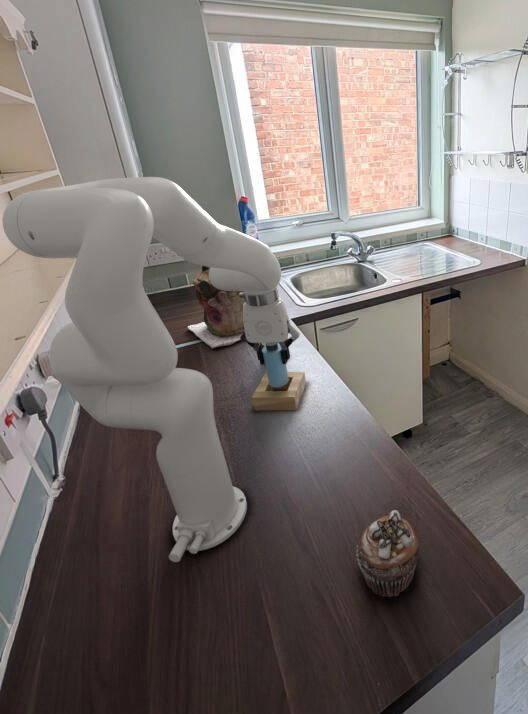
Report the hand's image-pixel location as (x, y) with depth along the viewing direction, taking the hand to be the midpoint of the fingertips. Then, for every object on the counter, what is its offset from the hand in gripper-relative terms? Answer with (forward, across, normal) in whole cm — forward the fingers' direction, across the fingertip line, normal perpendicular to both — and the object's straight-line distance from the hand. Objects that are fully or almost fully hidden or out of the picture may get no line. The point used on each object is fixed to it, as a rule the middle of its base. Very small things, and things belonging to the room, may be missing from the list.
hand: (274, 360), depth 102 cm
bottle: (+6, 0, 0) cm, 6 cm away
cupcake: (+11, +30, -44) cm, 55 cm away
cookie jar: (+11, -29, +40) cm, 51 cm away
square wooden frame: (+11, 0, 0) cm, 11 cm away
